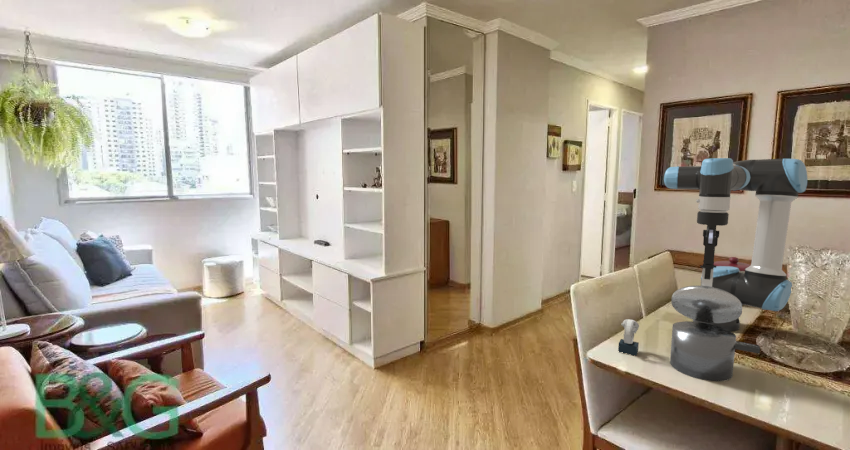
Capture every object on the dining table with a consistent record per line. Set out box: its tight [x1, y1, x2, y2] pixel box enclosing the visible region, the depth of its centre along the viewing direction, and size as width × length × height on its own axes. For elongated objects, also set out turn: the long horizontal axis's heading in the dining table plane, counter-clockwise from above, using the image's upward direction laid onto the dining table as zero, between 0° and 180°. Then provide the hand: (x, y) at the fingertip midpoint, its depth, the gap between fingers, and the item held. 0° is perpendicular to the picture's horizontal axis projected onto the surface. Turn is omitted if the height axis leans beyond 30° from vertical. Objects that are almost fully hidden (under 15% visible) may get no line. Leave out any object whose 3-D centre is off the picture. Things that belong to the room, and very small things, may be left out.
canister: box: [714, 256, 751, 273], centre depth 188 cm, size 18×18×21 cm
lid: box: [670, 285, 743, 323], centre depth 126 cm, size 18×18×3 cm
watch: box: [617, 318, 640, 357], centre depth 136 cm, size 6×8×11 cm
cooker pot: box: [669, 320, 761, 382], centre depth 123 cm, size 17×22×12 cm
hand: (706, 288), depth 122 cm, fingers closed
